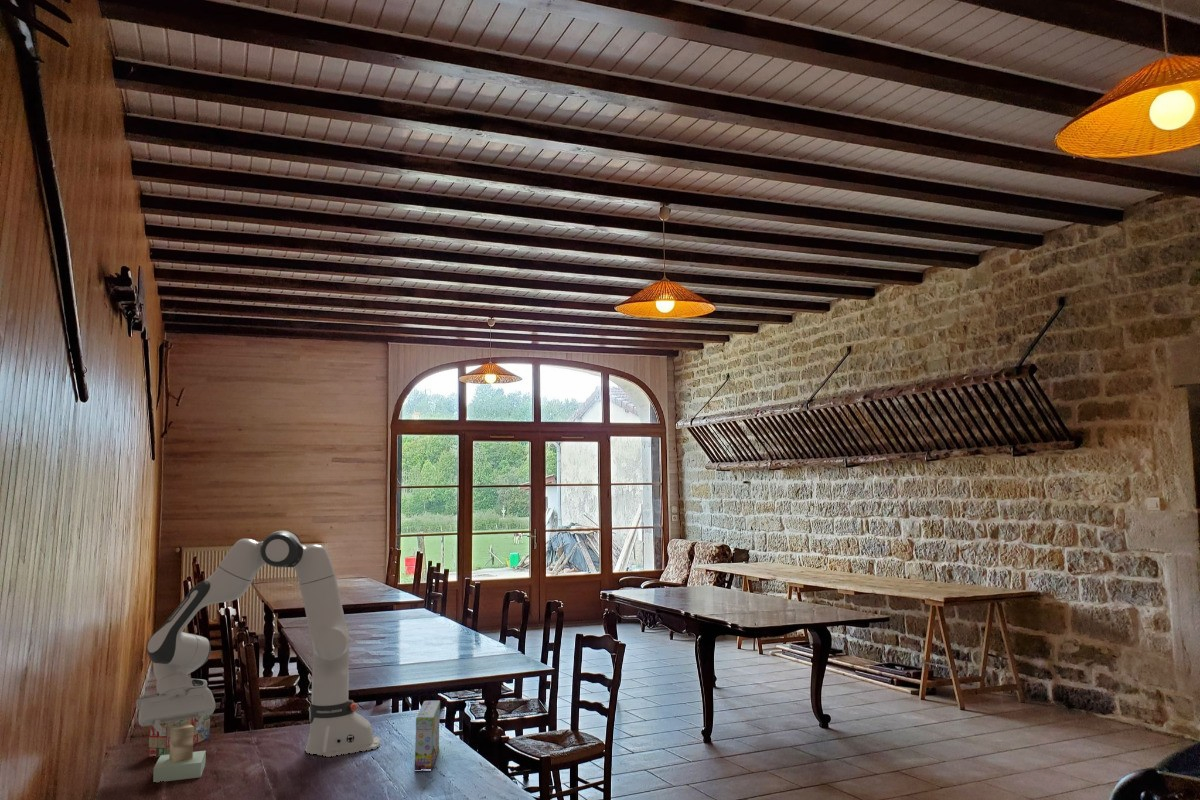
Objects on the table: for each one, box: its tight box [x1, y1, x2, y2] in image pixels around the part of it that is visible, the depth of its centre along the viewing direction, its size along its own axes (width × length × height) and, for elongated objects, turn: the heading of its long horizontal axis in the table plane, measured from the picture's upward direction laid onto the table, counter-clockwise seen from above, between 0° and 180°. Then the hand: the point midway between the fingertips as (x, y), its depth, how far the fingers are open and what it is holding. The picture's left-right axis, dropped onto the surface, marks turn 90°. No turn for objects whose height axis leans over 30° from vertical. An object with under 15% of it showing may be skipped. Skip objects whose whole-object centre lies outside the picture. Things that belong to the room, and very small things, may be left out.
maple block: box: [169, 723, 194, 763], centre depth 241 cm, size 5×5×9 cm
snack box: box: [414, 700, 441, 770], centre depth 248 cm, size 21×6×15 cm, turn 6°
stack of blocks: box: [147, 715, 211, 757], centre depth 266 cm, size 21×6×12 cm, turn 170°
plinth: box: [152, 750, 207, 783], centre depth 240 cm, size 12×12×4 cm
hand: (181, 731), depth 241 cm, fingers open, 8 cm apart
